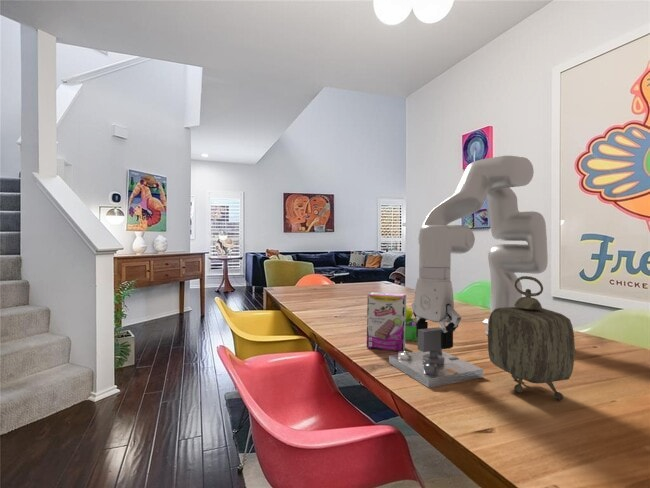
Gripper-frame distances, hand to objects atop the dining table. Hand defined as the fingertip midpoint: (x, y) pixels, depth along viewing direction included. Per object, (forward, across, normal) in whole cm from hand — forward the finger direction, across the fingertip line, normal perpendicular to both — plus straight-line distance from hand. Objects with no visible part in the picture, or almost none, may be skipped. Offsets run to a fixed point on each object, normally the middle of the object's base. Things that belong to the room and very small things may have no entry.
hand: (433, 342), depth 84 cm
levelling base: (+7, 0, 0) cm, 7 cm away
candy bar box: (+7, -19, -2) cm, 20 cm away
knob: (+5, 0, 0) cm, 5 cm away
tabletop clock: (+7, +17, +11) cm, 21 cm away
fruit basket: (+7, -27, +12) cm, 30 cm away
